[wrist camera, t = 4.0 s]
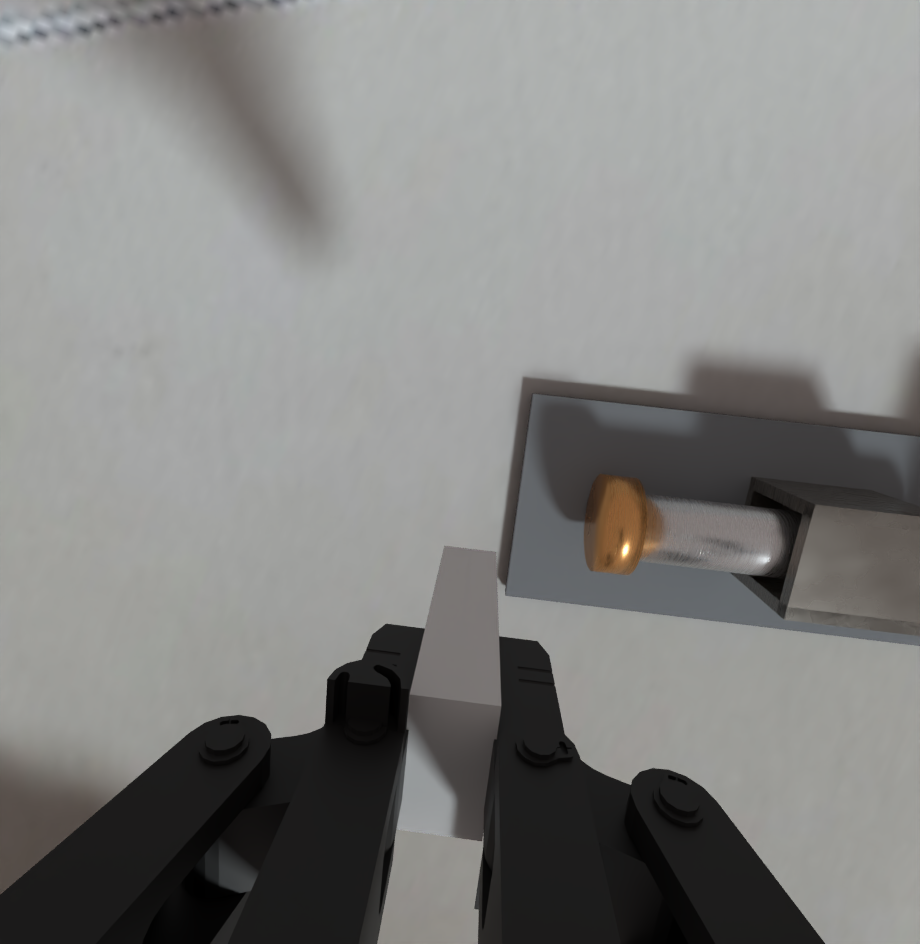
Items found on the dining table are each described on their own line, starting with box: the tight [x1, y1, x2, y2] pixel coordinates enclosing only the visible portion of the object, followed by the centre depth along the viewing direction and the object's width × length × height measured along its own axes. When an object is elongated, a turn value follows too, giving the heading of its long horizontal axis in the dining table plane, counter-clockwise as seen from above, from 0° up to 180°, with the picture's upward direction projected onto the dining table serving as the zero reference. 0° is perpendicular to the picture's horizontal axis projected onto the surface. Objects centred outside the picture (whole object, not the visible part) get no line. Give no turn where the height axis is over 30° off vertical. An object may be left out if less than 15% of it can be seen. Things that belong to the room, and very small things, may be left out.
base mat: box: [505, 393, 920, 646], centre depth 27 cm, size 27×11×1 cm, turn 84°
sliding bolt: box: [584, 474, 803, 579], centre depth 24 cm, size 16×5×5 cm, turn 84°
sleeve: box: [730, 477, 920, 636], centre depth 24 cm, size 6×5×5 cm
